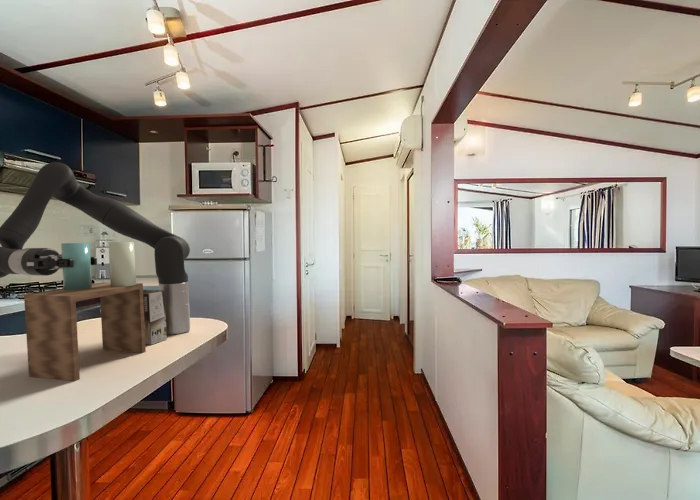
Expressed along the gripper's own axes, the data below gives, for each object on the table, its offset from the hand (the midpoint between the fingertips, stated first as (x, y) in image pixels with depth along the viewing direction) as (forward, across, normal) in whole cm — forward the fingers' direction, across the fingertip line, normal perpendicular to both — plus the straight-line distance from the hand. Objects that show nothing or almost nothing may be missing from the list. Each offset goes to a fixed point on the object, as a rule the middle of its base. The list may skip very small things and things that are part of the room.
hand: (84, 262), depth 94 cm
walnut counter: (+1, 0, +27) cm, 27 cm away
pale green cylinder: (+6, +6, +7) cm, 11 cm away
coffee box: (+1, +19, +27) cm, 33 cm away
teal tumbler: (-2, 0, +7) cm, 7 cm away
